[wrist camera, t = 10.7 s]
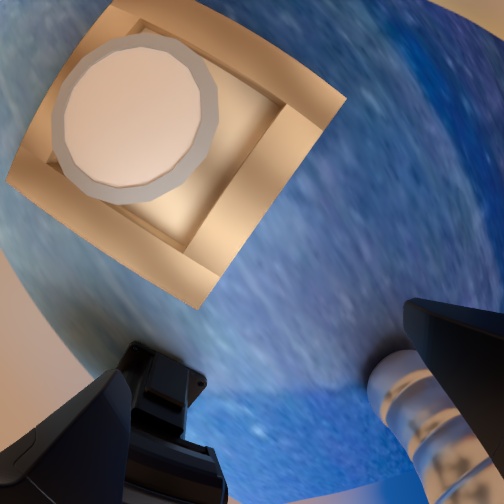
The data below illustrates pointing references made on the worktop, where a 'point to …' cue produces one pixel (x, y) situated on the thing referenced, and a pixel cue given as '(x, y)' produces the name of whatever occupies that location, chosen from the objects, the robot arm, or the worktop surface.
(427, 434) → the plastic bottle
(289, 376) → the worktop surface
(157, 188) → the white tapered cup
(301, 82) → the holder tray
